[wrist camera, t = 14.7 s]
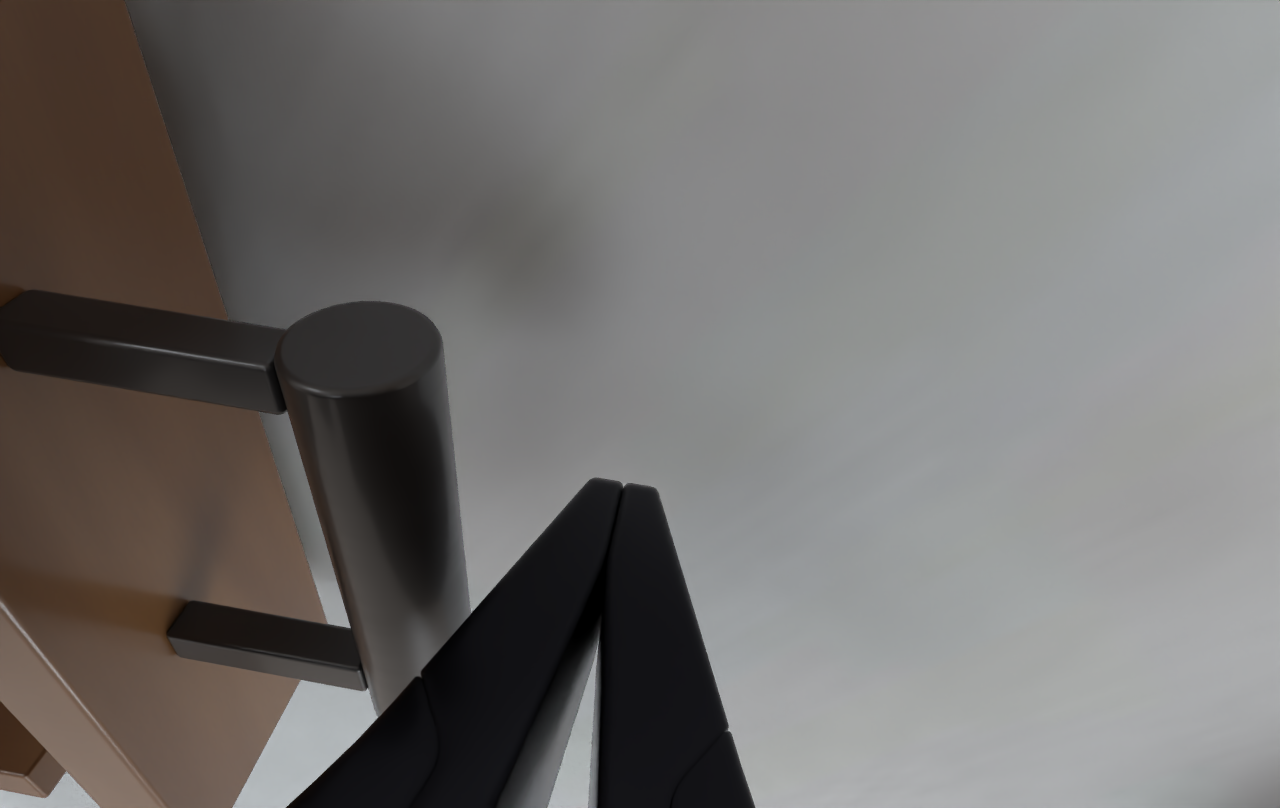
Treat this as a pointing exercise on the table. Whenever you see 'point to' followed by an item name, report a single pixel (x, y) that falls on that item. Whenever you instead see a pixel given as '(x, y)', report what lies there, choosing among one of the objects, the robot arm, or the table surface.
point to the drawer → (184, 457)
